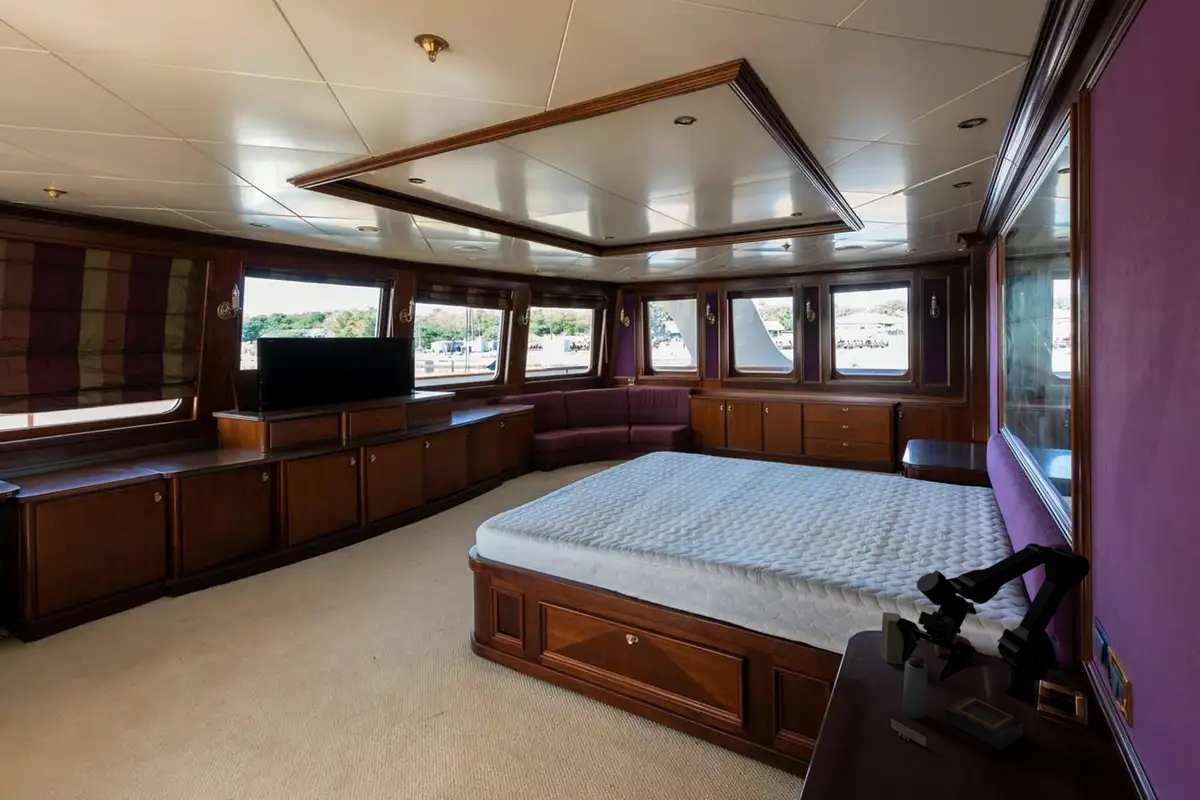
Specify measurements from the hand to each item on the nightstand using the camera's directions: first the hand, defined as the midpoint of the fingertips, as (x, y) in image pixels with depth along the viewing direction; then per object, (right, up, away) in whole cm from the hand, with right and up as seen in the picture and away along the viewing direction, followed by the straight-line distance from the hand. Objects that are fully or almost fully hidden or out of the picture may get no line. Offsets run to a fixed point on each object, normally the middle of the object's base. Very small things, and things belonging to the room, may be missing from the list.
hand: (921, 671), depth 148 cm
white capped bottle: (-2, -10, -1) cm, 10 cm away
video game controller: (+24, -8, +28) cm, 38 cm away
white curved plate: (-9, -11, -11) cm, 18 cm away
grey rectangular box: (+11, -10, -6) cm, 16 cm away
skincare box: (+5, -8, +25) cm, 27 cm away
